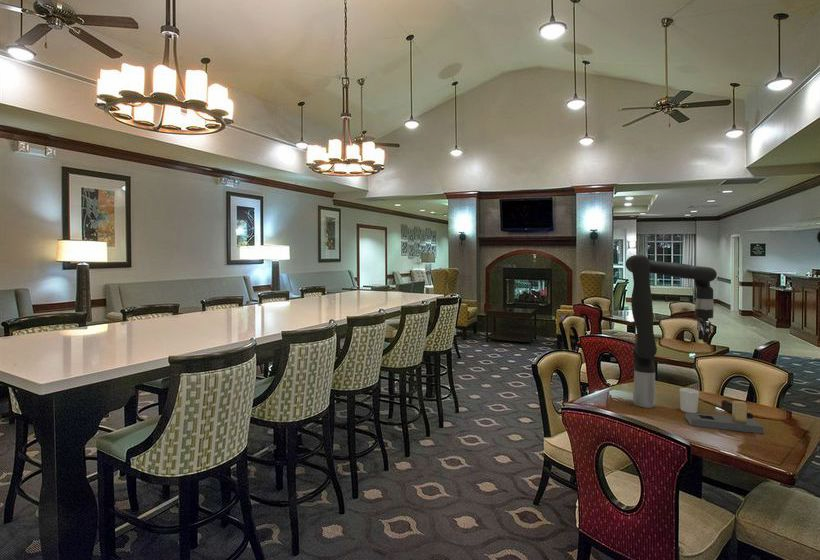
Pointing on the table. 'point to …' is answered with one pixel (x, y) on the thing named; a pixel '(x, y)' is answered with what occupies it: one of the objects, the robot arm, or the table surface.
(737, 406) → the brass block
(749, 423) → the post plate
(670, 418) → the table surface
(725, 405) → the hand tool
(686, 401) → the white cup
